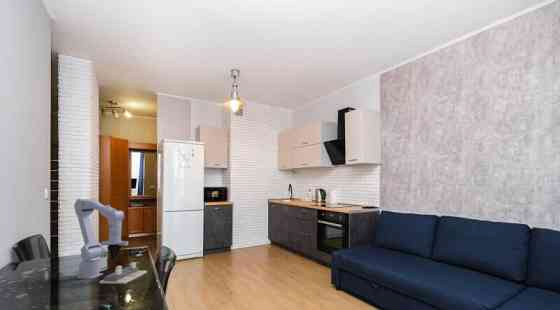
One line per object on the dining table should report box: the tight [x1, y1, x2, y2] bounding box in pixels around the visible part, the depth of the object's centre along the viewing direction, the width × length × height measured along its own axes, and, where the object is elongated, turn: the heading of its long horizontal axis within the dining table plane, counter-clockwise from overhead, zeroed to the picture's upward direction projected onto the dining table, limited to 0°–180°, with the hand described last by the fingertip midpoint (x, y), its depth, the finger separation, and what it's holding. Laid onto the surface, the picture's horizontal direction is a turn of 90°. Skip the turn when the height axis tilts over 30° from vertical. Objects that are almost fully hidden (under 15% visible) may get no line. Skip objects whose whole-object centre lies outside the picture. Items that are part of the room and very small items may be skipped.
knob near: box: [114, 268, 123, 275], centre depth 146 cm, size 2×3×2 cm, turn 173°
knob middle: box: [115, 265, 123, 270], centre depth 152 cm, size 2×3×2 cm, turn 173°
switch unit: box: [99, 266, 148, 285], centre depth 151 cm, size 14×19×3 cm
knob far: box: [129, 262, 137, 269], centre depth 157 cm, size 2×3×2 cm, turn 173°
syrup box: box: [99, 245, 109, 273], centre depth 167 cm, size 6×6×14 cm
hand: (113, 259), depth 150 cm, fingers closed
